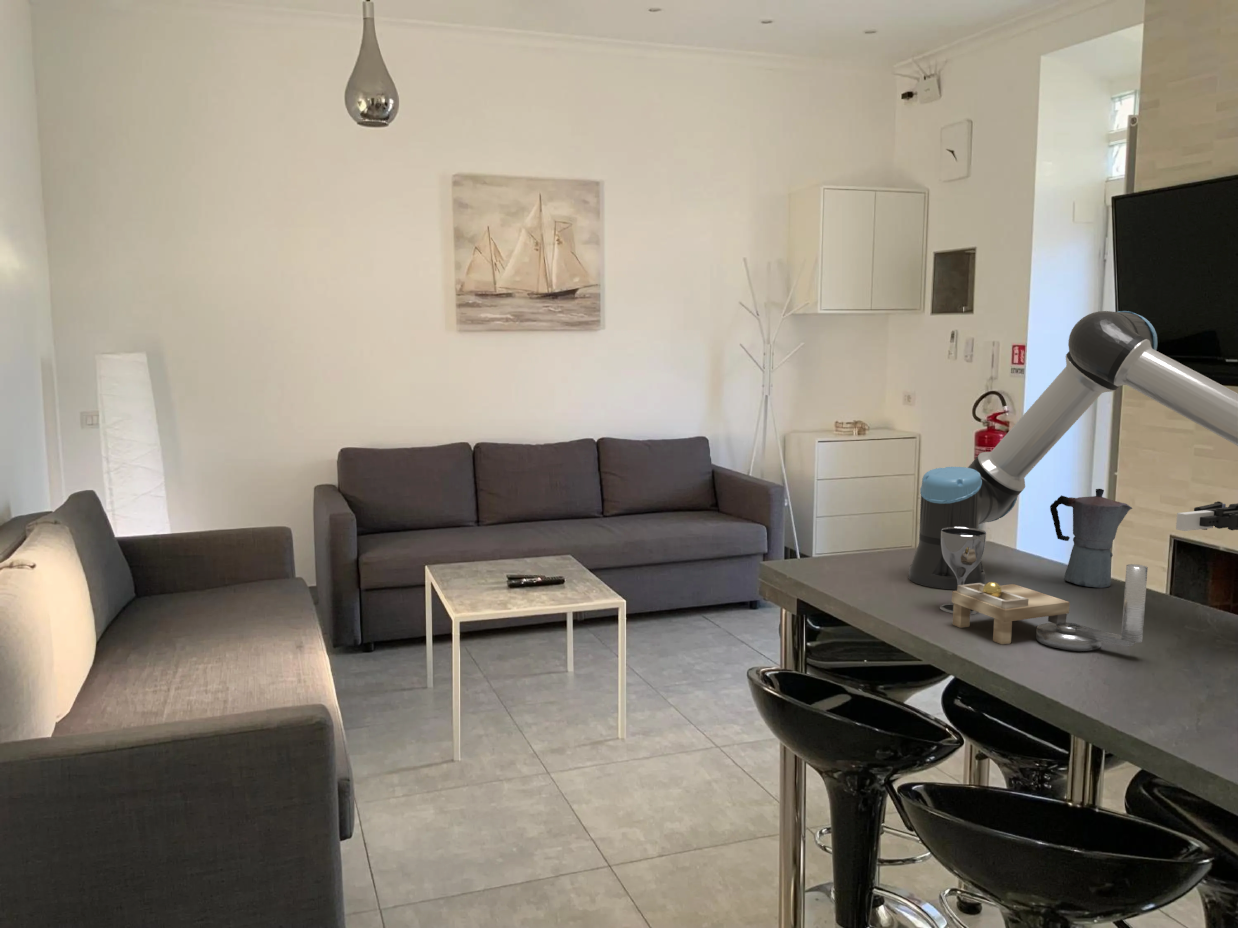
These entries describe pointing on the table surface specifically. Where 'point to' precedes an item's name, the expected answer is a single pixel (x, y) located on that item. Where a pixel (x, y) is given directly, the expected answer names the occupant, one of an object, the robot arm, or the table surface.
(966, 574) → the wine glass
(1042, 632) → the silver l-shaped piece
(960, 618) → the stand
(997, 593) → the ball
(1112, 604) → the table surface
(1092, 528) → the moka pot
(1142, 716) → the table surface
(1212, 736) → the table surface
